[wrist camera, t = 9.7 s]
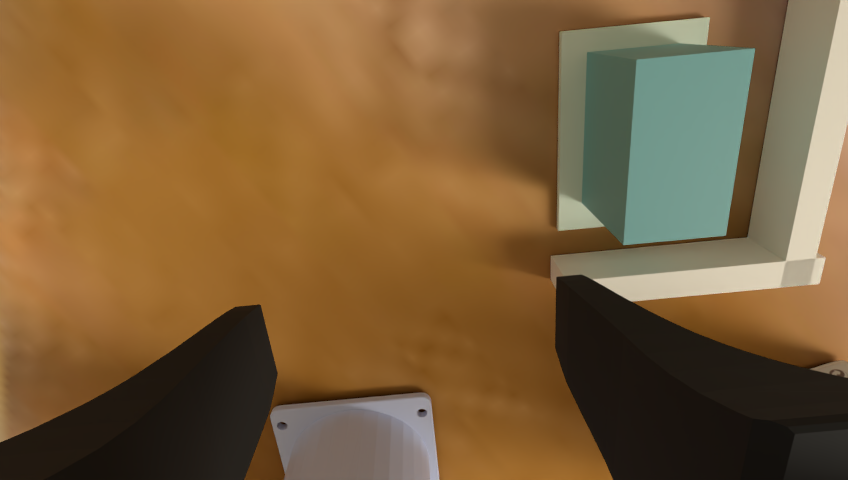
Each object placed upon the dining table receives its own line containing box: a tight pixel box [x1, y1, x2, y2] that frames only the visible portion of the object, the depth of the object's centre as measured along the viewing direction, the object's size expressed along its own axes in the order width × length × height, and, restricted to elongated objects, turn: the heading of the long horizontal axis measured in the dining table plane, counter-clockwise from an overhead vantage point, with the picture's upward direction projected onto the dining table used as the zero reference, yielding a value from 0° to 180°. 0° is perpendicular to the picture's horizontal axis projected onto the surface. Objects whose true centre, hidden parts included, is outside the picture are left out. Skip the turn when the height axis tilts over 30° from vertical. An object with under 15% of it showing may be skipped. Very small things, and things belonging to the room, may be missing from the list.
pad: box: [557, 17, 710, 231], centre depth 20 cm, size 8×6×1 cm
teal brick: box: [582, 43, 755, 245], centre depth 18 cm, size 6×4×4 cm, turn 5°
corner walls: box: [551, 0, 848, 301], centre depth 19 cm, size 13×10×2 cm
